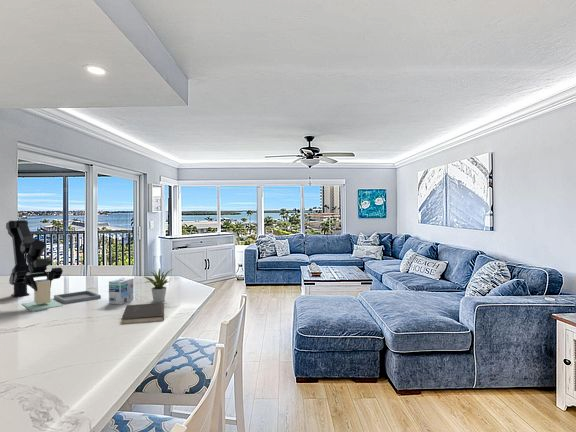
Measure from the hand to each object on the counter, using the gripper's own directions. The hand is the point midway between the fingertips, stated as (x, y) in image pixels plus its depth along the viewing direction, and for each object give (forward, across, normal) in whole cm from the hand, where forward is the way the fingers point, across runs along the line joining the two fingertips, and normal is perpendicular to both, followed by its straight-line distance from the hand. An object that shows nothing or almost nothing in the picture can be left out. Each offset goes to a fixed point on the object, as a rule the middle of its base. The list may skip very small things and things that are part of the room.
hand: (43, 289), depth 176 cm
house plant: (+25, +43, -14) cm, 52 cm away
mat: (+5, 0, +6) cm, 8 cm away
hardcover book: (+38, +24, -26) cm, 52 cm away
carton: (+3, 0, +5) cm, 6 cm away
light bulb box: (+18, +28, -6) cm, 34 cm away
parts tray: (+3, +16, +8) cm, 18 cm away
